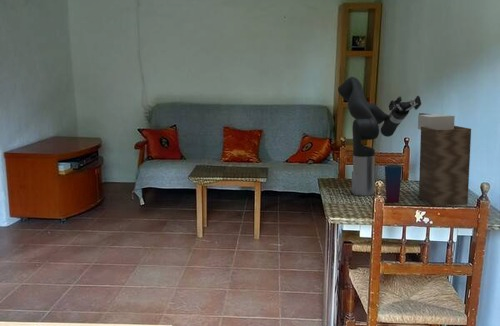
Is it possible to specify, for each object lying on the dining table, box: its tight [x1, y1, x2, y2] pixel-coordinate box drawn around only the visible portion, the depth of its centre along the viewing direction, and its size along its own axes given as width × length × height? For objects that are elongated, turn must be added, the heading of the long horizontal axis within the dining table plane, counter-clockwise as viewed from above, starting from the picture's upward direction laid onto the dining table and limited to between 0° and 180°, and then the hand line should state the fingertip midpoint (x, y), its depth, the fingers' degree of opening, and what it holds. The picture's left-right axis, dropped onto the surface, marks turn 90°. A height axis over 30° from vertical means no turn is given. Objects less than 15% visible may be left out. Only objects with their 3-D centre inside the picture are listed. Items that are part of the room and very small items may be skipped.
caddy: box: [417, 112, 456, 131], centre depth 199 cm, size 11×21×6 cm, turn 2°
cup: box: [384, 163, 403, 204], centre depth 191 cm, size 7×7×15 cm
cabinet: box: [418, 125, 472, 206], centre depth 188 cm, size 14×14×30 cm
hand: (409, 97), depth 216 cm, fingers open, 8 cm apart
